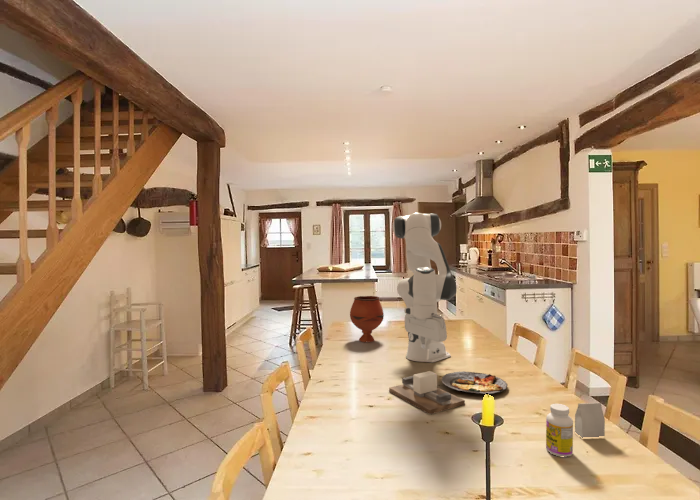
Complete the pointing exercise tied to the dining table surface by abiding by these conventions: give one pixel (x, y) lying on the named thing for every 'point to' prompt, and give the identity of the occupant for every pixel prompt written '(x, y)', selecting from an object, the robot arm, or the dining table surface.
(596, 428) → the grey upright block
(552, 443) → the supplement bottle
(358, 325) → the goblet
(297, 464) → the dining table surface
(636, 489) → the dining table surface
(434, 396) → the rail board
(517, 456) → the dining table surface
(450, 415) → the dining table surface
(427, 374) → the block
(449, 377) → the food plate
